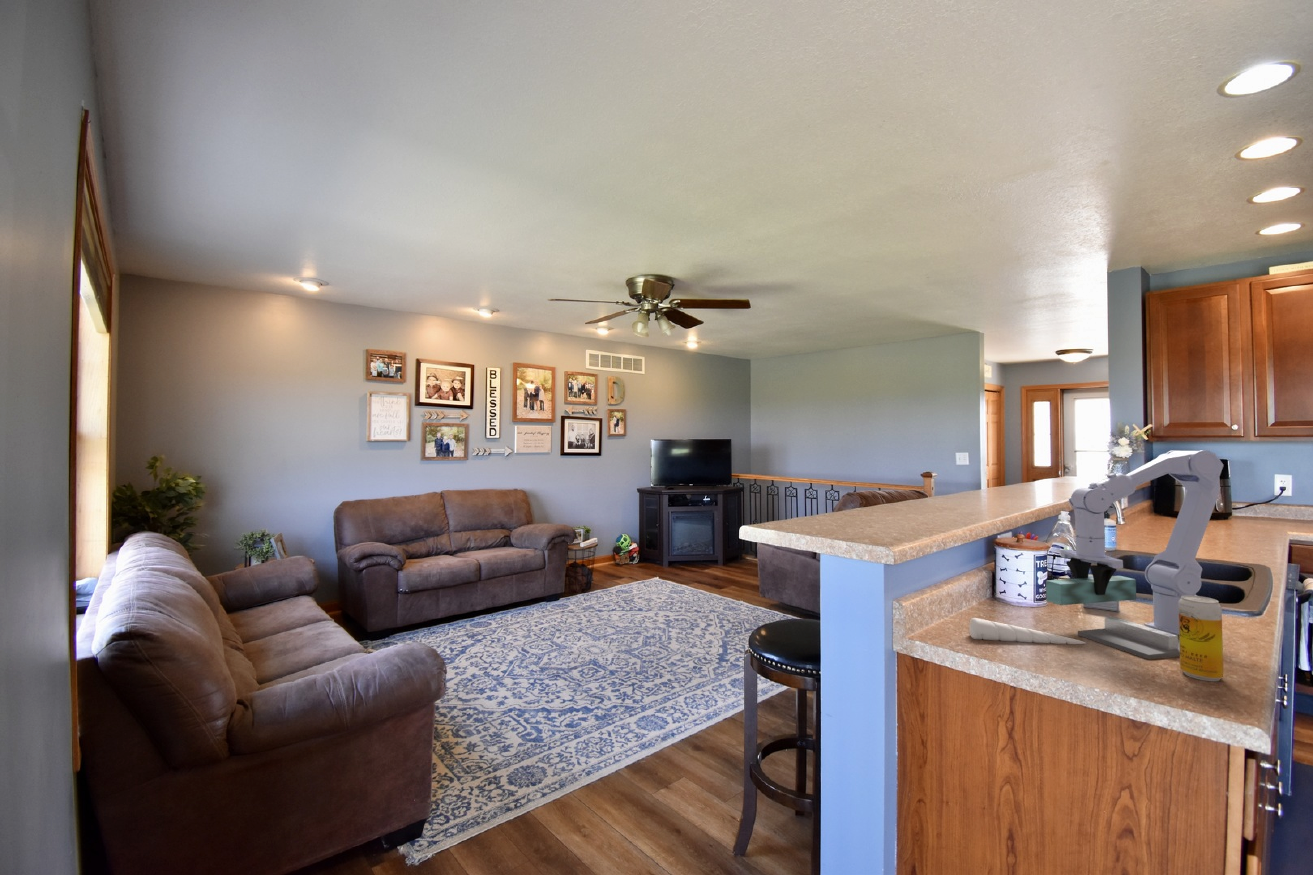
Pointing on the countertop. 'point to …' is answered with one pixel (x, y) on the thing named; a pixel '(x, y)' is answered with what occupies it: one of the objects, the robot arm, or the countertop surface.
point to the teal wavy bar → (1089, 591)
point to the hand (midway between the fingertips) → (1091, 592)
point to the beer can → (1201, 637)
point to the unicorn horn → (1014, 633)
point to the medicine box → (1103, 604)
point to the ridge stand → (1135, 639)
